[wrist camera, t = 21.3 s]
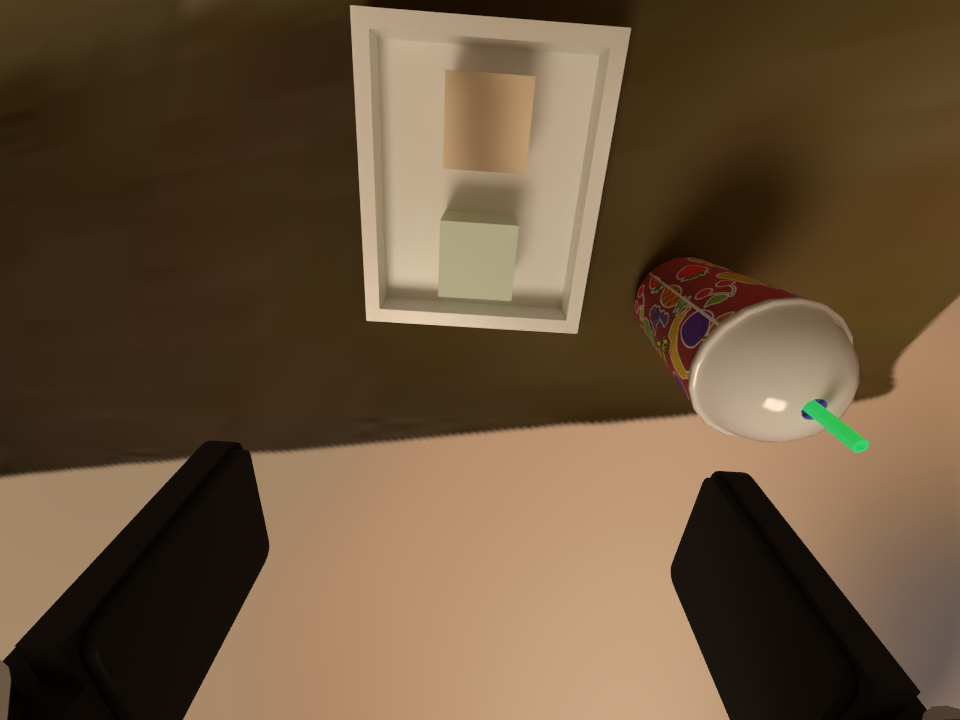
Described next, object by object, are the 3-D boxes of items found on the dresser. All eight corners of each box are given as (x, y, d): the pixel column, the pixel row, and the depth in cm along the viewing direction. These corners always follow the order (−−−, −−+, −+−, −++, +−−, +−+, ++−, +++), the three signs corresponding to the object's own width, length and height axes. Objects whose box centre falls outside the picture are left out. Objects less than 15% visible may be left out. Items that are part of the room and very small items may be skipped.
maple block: (527, 86, 29) (535, 76, 24) (519, 169, 31) (525, 174, 27) (451, 81, 29) (445, 69, 24) (448, 164, 31) (442, 168, 26)
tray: (614, 40, 28) (631, 27, 25) (569, 317, 37) (577, 333, 34) (364, 20, 28) (350, 5, 25) (376, 305, 36) (366, 320, 33)
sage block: (513, 214, 32) (519, 225, 28) (507, 280, 35) (511, 301, 30) (445, 209, 32) (439, 220, 28) (443, 276, 34) (438, 296, 30)
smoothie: (598, 311, 37) (711, 474, 19) (666, 221, 33) (880, 313, 15) (675, 357, 38) (845, 546, 20) (746, 277, 35) (1021, 416, 17)
